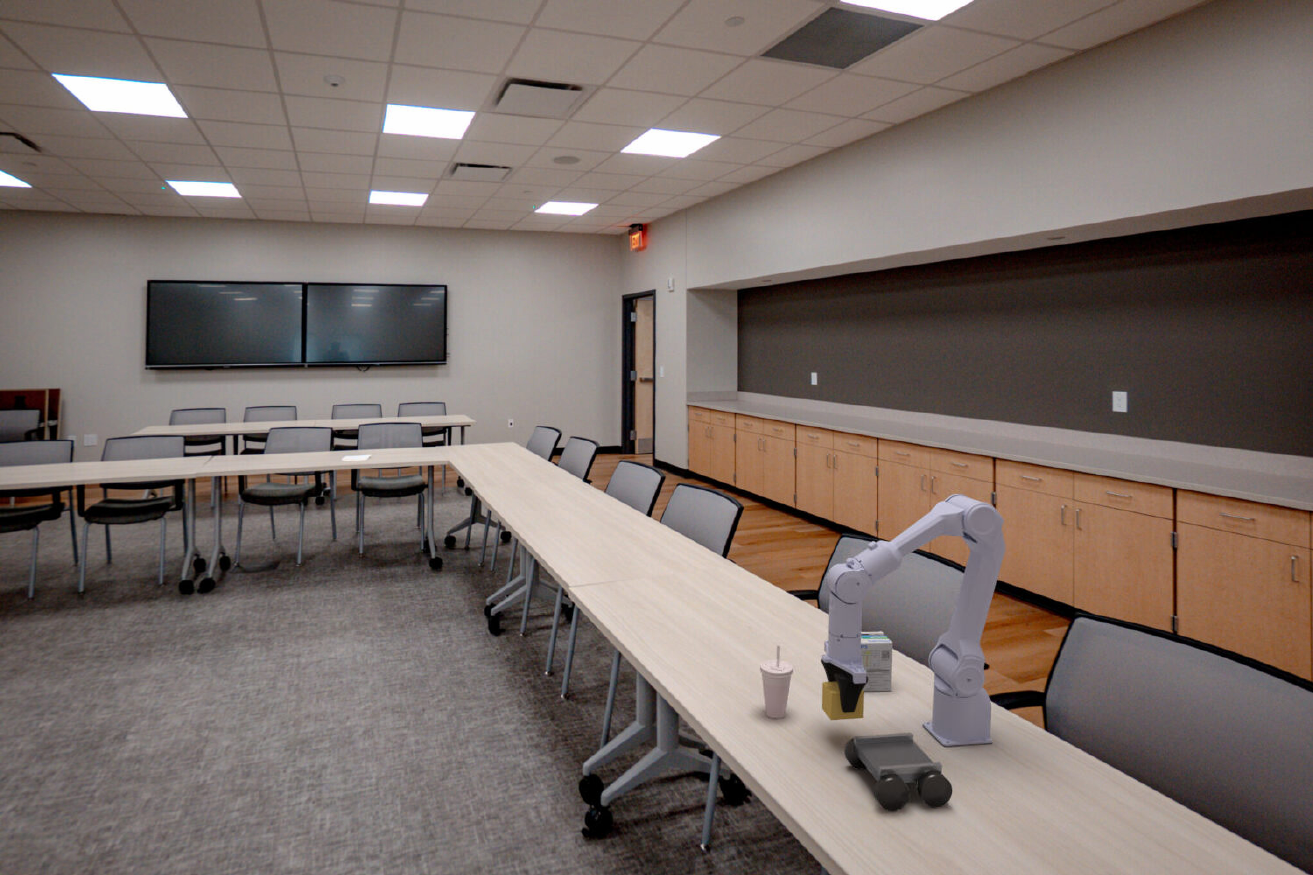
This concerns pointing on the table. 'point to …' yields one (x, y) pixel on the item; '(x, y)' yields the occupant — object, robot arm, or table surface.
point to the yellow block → (838, 703)
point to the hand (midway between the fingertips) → (842, 704)
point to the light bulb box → (877, 660)
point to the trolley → (898, 769)
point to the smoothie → (776, 685)
